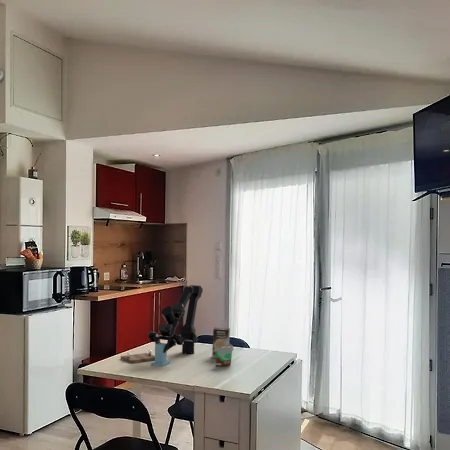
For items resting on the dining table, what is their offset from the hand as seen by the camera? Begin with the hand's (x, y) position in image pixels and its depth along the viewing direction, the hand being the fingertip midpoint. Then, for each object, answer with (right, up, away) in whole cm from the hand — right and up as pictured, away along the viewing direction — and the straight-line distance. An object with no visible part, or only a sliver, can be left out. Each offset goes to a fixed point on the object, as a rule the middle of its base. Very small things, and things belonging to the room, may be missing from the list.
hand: (159, 351), depth 251 cm
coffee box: (+31, -9, +22) cm, 39 cm away
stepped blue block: (0, -7, +1) cm, 7 cm away
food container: (+34, -8, +3) cm, 35 cm away
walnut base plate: (-12, -7, +10) cm, 17 cm away
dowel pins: (-12, -5, +10) cm, 17 cm away
